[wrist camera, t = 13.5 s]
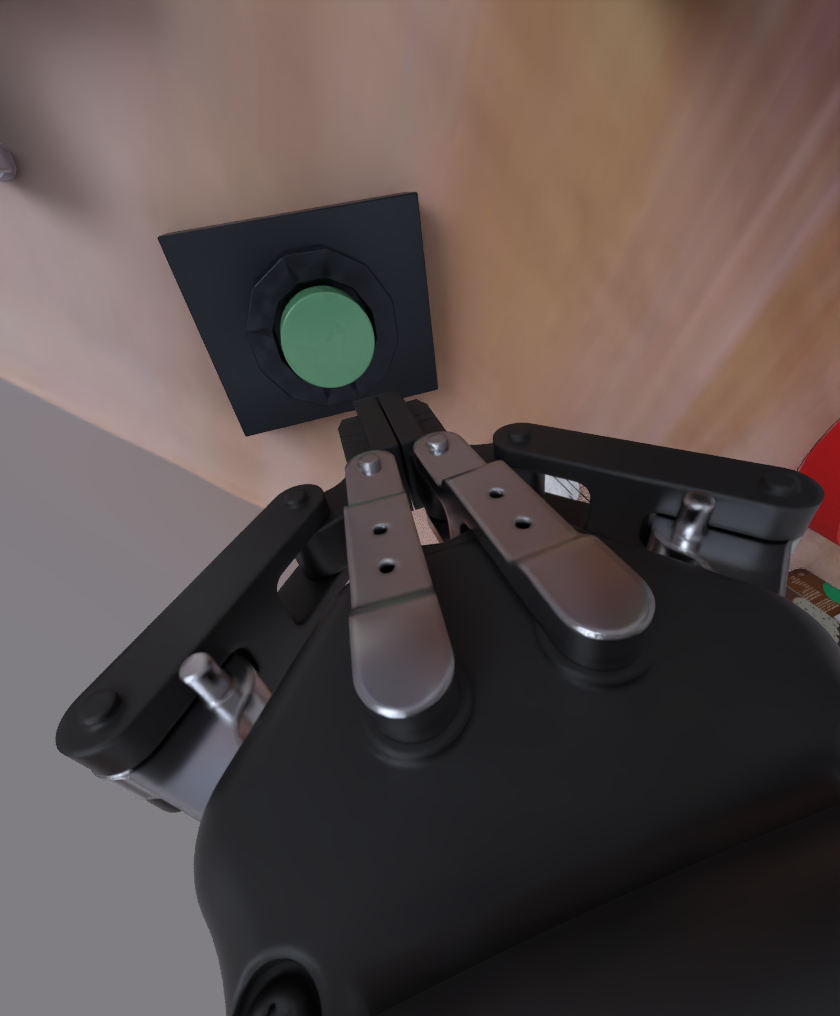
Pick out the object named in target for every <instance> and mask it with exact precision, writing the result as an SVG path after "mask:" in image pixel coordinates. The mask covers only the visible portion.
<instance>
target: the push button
mask: <svg viewBox="0 0 840 1016" xmlns="http://www.w3.org/2000/svg"><path fill="white" fill-rule="evenodd" d="M280 337H281V346H282V350H283V353H284V356H285V358H286V360H287V362H288V364H289V365H290V367H291V368H292V370H293V371H294V372H295V373H296V374H297V375H298V376H299V377H301V378H302V379H303V380H305V381H307V382H309V383H311V384H313V385H316V386H319V387H324V388H336V387H342V386H345V385H347V384H350V383H352V382H353V381H355V380H356V379H358V378H359V377H360V376H361V375H362V374H363V373H364V372H365V371H366V369H367V368H368V366H369V364H370V362H371V360H372V357H373V353H374V348H375V337H374V331H373V327H372V324H371V322H370V320H369V318H368V316H367V315H366V313H365V312H364V310H363V309H362V308H361V307H360V305H359V304H358V303H357V302H356V301H355V300H354V299H353V298H352V297H351V296H350V295H348V294H347V293H345V292H344V291H342V290H340V289H337V288H334V287H331V286H313V287H309V288H306V289H304V290H302V291H300V292H299V293H297V294H296V295H295V296H294V297H292V299H291V300H290V301H289V302H288V304H287V305H286V307H285V309H284V311H283V313H282V317H281V322H280Z"/></svg>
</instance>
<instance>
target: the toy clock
mask: <svg viewBox="0 0 840 1016" xmlns="http://www.w3.org/2000/svg"><path fill="white" fill-rule="evenodd" d="M797 472H800V473H802V474H805V475H807V476H809V477H810V478H812V479H814V480H815V481H816V482H818V483H819V484H820V485H821V487H822V488H823V490H824V493H825V497H824V499H823V501H822V503H821V505H820V506H819V508H818V510H817V512H816V513H815V515H814V517H813V519H812V520H811V522H810V524H809V526H808V527H809V528H811V529H812V530H814V531H815V532H817V533H819V534H820V535H822V536H824V537H825V538H827V539H829V540H830V541H832V542H833V543H835V544H837V545H838V546H840V420H839V421H838V422H836V423H835V424H834V425H833V426H832V427H831V428H830V429H829V431H828V432H827V433H826V434H825V435H824V436H823V437H822V438H821V439H820V440H819V442H818V443H817V444H816V445H815V447H814V448H813V449H812V450H811V452H810V453H809V454H808V455H807V457H806V458H805V460H804V461H803V463H802V464H801V466H800V468H799V469H798V471H797Z"/></svg>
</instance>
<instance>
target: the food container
mask: <svg viewBox="0 0 840 1016" xmlns="http://www.w3.org/2000/svg"><path fill="white" fill-rule="evenodd" d="M785 598H786V599H788V600H789V601H791V602H793V603H795V604H796V605H797V606H799V607H800V608H802V609H803V610H805V611H806V612H807V613H809V614H810V615H811V616H812V617H813V618H814V619H816V620H817V621H818V622H819V623H820V624H821V625H822V626H823V627H824V628H825V629H826V630H827V631H828V632H829V633H830V635H831V636H832V637H833V639H834V640H835V641H836V643H837V644H838V645H839V647H840V590H838V589H837V588H835V587H834V586H832V585H830V584H829V583H827V582H825V581H824V580H822V579H820V578H819V577H817V576H815V575H814V574H812V573H810V572H809V571H807V570H805V569H798V570H794V571H791V572H789V573H788V579H787V586H786V594H785Z"/></svg>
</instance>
